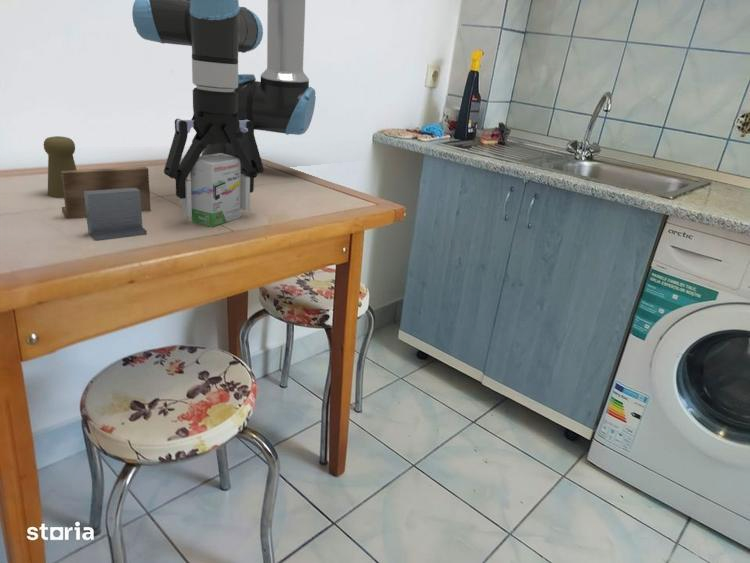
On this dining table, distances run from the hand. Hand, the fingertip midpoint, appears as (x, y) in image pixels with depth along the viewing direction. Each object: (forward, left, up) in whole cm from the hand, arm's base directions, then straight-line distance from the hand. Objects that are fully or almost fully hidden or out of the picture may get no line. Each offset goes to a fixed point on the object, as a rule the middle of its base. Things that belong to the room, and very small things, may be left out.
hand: (216, 212), depth 101 cm
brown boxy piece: (+16, -11, -2) cm, 20 cm away
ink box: (0, 0, -2) cm, 2 cm away
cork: (+20, -25, -2) cm, 32 cm away
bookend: (+18, 0, -2) cm, 18 cm away
